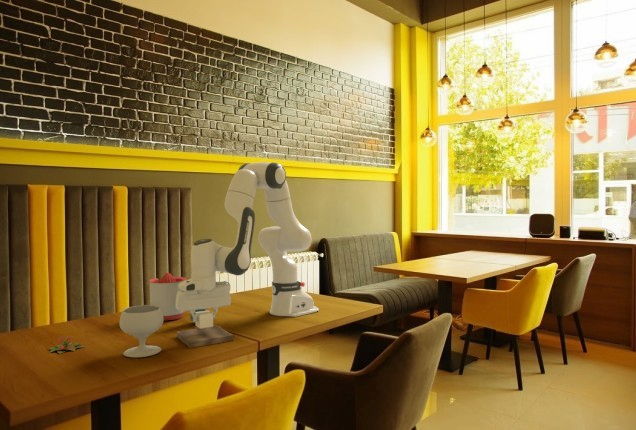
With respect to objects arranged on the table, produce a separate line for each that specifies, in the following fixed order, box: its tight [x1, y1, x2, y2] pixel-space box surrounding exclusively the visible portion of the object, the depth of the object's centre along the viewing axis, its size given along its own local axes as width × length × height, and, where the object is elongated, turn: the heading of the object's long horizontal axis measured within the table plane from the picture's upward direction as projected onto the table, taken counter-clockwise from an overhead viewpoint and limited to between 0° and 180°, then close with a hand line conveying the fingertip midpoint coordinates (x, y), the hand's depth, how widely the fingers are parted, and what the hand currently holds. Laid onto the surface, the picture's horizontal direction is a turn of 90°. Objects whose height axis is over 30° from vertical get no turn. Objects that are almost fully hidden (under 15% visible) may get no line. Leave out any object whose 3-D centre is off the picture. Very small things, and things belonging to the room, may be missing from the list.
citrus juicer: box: [148, 272, 187, 322], centre depth 211 cm, size 16×17×20 cm
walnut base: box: [176, 325, 234, 349], centre depth 179 cm, size 16×16×2 cm
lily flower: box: [48, 335, 85, 355], centre depth 169 cm, size 12×12×5 cm
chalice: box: [119, 304, 164, 358], centre depth 163 cm, size 14×14×15 cm
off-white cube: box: [195, 310, 214, 329], centre depth 179 cm, size 5×5×5 cm
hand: (204, 320), depth 179 cm, fingers closed on off-white cube, 5 cm apart
